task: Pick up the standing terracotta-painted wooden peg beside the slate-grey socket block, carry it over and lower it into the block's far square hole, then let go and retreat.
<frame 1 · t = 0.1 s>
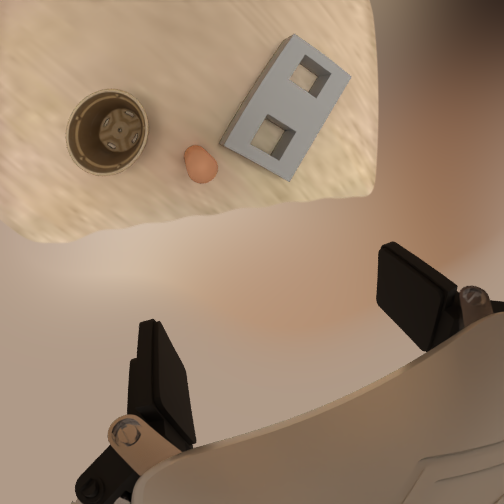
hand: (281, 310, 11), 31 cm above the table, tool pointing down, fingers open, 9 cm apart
peg: (195, 156, 37), on the table
flower pot: (120, 130, 33), on the table
socket block: (282, 106, 37), on the table
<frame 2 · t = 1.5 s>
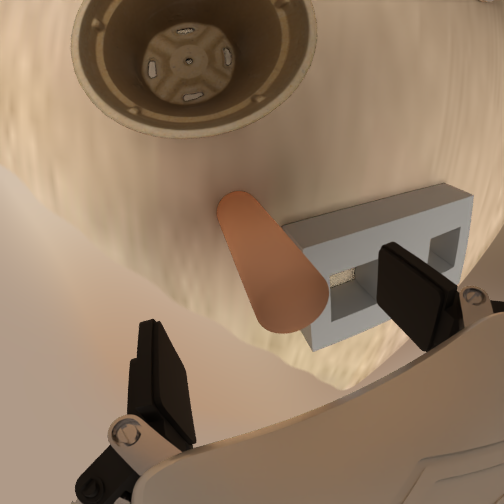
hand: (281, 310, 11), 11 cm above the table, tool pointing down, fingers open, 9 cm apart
peg: (237, 211, 20), on the table
flower pot: (187, 62, 15), on the table
socket block: (379, 250, 25), on the table
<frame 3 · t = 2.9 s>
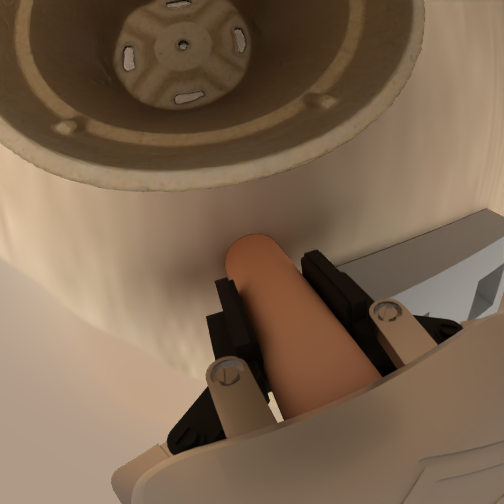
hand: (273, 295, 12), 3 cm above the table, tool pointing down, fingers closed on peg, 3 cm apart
peg: (253, 261, 15), on the table, touching gripper
flower pot: (181, 47, 10), on the table
socket block: (417, 291, 20), on the table
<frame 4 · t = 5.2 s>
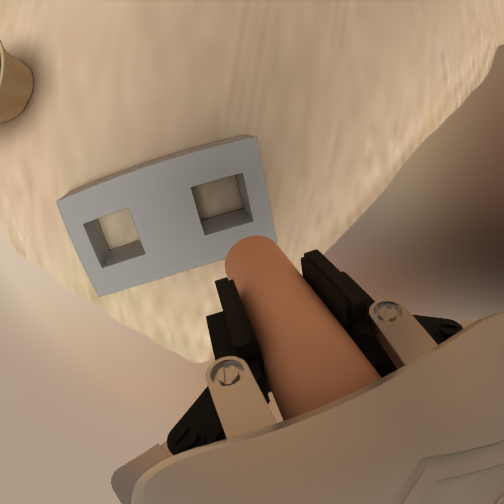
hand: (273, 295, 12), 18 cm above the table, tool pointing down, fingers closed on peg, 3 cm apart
peg: (253, 262, 15), point 15 cm above the table, touching gripper
flower pot: (11, 91, 17), on the table
socket block: (167, 208, 27), on the table
when the fingers open (5 cm above the table, at t = 7.4 s): peg drops 2 cm, resting in socket block.
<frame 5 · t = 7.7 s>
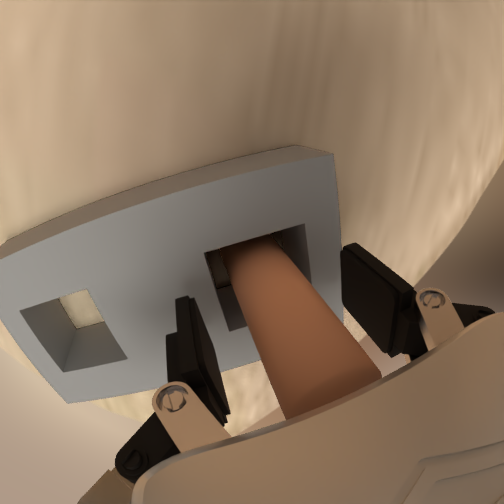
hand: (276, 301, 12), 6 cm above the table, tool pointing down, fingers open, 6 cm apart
peg: (245, 246, 17), resting in socket block
socket block: (161, 271, 16), on the table
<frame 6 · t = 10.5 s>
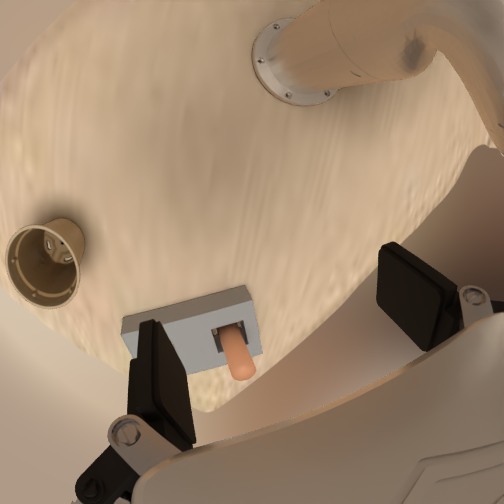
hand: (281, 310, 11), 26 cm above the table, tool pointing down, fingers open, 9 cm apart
peg: (224, 320, 42), resting in socket block
flower pot: (63, 240, 31), on the table
socket block: (192, 329, 41), on the table
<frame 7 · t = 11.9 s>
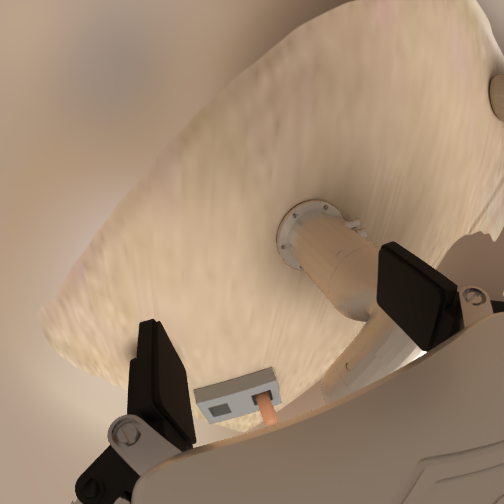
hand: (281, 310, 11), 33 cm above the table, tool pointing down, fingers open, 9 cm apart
peg: (257, 385, 63), resting in socket block
socket block: (237, 391, 62), on the table
canister: (496, 97, 47), on the table
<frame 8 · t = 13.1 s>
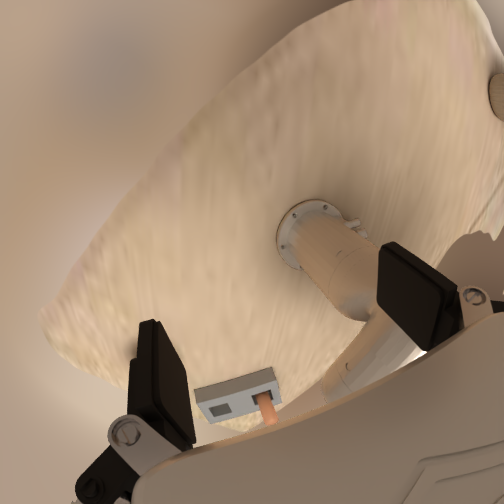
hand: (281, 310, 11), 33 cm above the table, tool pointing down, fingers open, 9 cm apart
peg: (258, 384, 63), resting in socket block
socket block: (237, 391, 62), on the table
canister: (496, 96, 47), on the table
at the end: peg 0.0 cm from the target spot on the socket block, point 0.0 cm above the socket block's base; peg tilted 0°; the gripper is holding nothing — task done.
